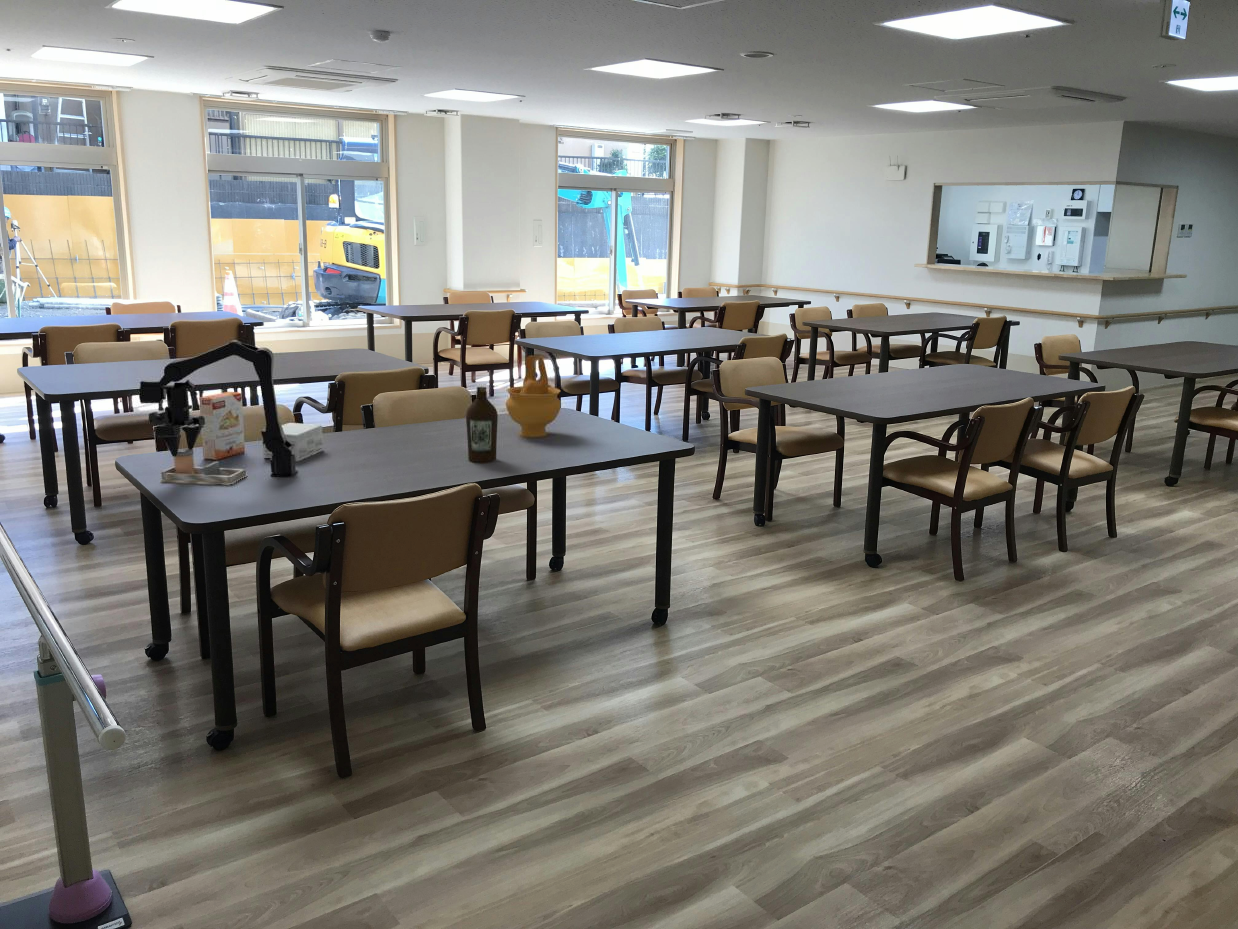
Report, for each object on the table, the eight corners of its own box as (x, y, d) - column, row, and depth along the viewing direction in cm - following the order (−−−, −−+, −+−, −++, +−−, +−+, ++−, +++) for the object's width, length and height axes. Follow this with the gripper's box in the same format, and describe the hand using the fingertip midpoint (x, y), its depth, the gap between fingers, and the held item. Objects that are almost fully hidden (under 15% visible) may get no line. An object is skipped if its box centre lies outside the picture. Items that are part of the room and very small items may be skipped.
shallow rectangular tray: (247, 476, 306) (246, 466, 305) (230, 485, 295) (229, 475, 295) (180, 472, 308) (179, 463, 307) (160, 481, 298) (159, 472, 297)
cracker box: (217, 461, 324) (212, 398, 319) (202, 459, 326) (197, 397, 321) (246, 452, 337) (242, 392, 332) (232, 450, 339) (228, 390, 334)
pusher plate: (219, 474, 305) (218, 461, 304) (208, 479, 298) (207, 466, 297) (216, 474, 305) (215, 461, 304) (204, 479, 298) (203, 466, 297)
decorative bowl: (494, 434, 374) (493, 356, 367) (529, 426, 391) (530, 351, 383) (537, 442, 362) (537, 361, 355) (572, 433, 379) (572, 356, 372)
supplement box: (289, 448, 345) (288, 422, 343) (323, 451, 342) (322, 424, 340) (262, 459, 329) (260, 431, 327) (298, 462, 326) (296, 434, 324)
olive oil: (468, 456, 339) (467, 384, 333) (499, 456, 339) (498, 384, 333) (464, 463, 328) (463, 389, 322) (496, 463, 329) (496, 390, 323)
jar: (199, 474, 305) (196, 449, 303) (189, 478, 299) (186, 453, 297) (181, 473, 305) (179, 448, 303) (171, 477, 300) (168, 452, 298)
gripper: (170, 396, 307) (174, 445, 310) (135, 407, 289) (140, 458, 292) (204, 398, 305) (207, 446, 309) (171, 408, 287) (175, 460, 291)
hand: (182, 453), depth 300 cm, fingers open, 9 cm apart
